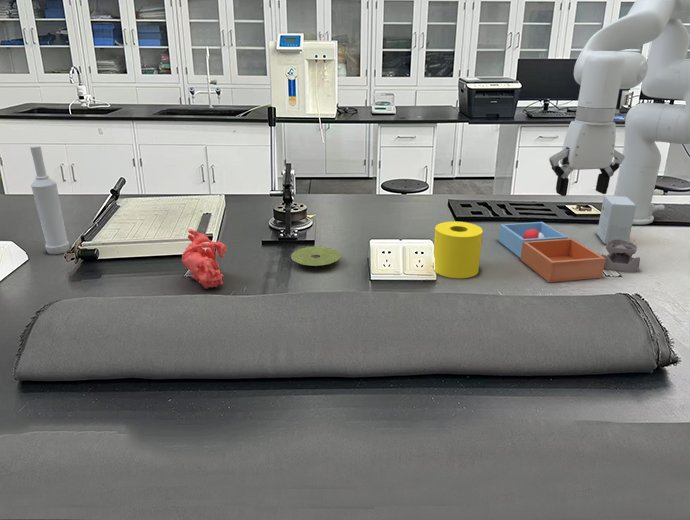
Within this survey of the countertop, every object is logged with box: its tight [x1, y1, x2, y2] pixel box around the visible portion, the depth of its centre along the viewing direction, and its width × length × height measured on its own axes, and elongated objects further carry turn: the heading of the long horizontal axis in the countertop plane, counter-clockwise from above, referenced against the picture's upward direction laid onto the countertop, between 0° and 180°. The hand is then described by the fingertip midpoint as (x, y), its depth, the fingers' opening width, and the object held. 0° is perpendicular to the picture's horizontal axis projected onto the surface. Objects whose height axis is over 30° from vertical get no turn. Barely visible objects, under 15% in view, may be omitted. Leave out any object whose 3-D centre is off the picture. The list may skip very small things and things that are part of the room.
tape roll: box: [433, 221, 484, 279], centre depth 116 cm, size 10×10×9 cm
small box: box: [596, 195, 636, 245], centre depth 133 cm, size 8×6×10 cm
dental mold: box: [600, 239, 641, 273], centre depth 119 cm, size 8×7×5 cm
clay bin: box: [520, 237, 606, 283], centre depth 118 cm, size 12×12×4 cm
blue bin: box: [498, 221, 569, 259], centre depth 129 cm, size 11×11×4 cm
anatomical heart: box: [181, 228, 228, 289], centre depth 110 cm, size 9×12×12 cm
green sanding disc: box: [290, 246, 341, 267], centre depth 121 cm, size 11×11×2 cm
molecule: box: [523, 229, 544, 239], centre depth 129 cm, size 5×5×4 cm
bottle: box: [29, 145, 71, 255], centre depth 123 cm, size 5×5×25 cm
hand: (581, 193), depth 119 cm, fingers open, 9 cm apart
